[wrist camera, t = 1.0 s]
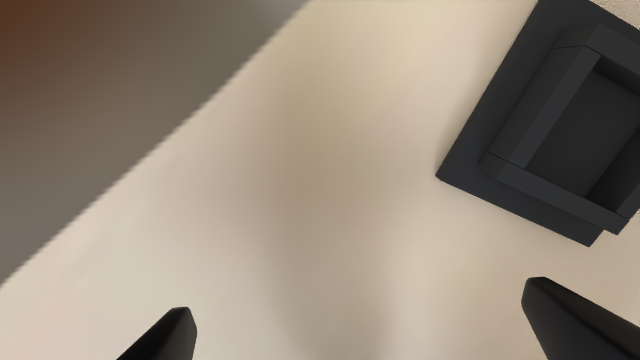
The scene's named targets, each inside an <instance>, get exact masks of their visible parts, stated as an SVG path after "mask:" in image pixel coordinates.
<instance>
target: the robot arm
mask: <svg viewBox="0 0 640 360" xmlns="http://www.w3.org/2000/svg"><path fill="white" fill-rule="evenodd" d="M521 304H522V308H523V311H524V313H525V315H526V317H527V319H528V321H529V323H530V325H531V327H532V329H533V331H534V333H535V335H536V337H537V339H538V341H539V343H540V345H541V347H542V349H543V351H544V353H545V355H546V357H547V359H548V360H640V327H638V326H636V325H634V324H632V323H630V322H629V321H627V320H625V319H623V318H621V317H619V316H617V315H616V314H614V313H612V312H610V311H608V310H606V309H604V308H603V307H601V306H599V305H597V304H595V303H593V302H591V301H590V300H588V299H586V298H584V297H582V296H580V295H578V294H577V293H575V292H573V291H571V290H569V289H567V288H565V287H564V286H562V285H560V284H558V283H556V282H554V281H552V280H551V279H549V278H546V277H532V278H528V279H527V280H526V283H525V287H524V291H523V295H522V299H521ZM196 338H197V327H196V324H195V322H194V319H193V316H192V313H191V311H190V309H189V308H188V307H177V308H172V309H171V310H169V311H168V312H167V313H166V314H165V315H164V316H163V317H162V318H161V319H160V320H159V321H157V322H156V323H155V324H154V325H153V326H152V327H151V328H150V329H149V330H148V331H147V332H146V333H144V334H143V335H142V336H141V337H140V338H139V339H138V340H137V341H136V342H135V343H134V344H133V345H132V346H130V347H129V348H128V349H127V350H126V351H125V352H124V353H123V354H122V355H121V356H120V357H119V358H117V359H116V360H192V358H193V353H194V348H195V343H196Z"/></svg>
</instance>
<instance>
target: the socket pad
mask: <svg viewBox="0 0 640 360" xmlns="http://www.w3.org/2000/svg"><path fill="white" fill-rule="evenodd" d="M435 176H436V177H437V178H438V179H440V180H441V181H443V182H445V183H448V184H450V185H452V186H454V187H457V188H459V189H461V190H463V191H465V192H468V193H470V194H472V195H474V196H477V197H479V198H481V199H483V200H485V201H488V202H490V203H492V204H494V205H496V206H499V207H501V208H503V209H505V210H508V211H510V212H512V213H514V214H516V215H519V216H521V217H523V218H525V219H527V220H530V221H532V222H534V223H536V224H539V225H541V226H543V227H545V228H547V229H550V230H552V231H554V232H556V233H559V234H561V235H563V236H565V237H567V238H570V239H572V240H574V241H576V242H578V243H581V244H583V245H585V246H587V247H590V246H591V245H592V244H593V242H594V241H595V240H596V239H597V237H598V236H599V235H600V234H601V233H602V231H603V230H607V231H609V232H611V233H613V234H615V235H618V234H619V233H620V231H621V230H622V229H623V228H624V227H625V225H626V224H627V223H628V222H629V219H631V218H632V217H633V215H634V214H635V213H636V212H637V211H638V209H639V208H640V30H638V29H637V28H635V27H633V26H632V25H630V24H628V23H627V22H625V21H623V20H622V19H620V18H618V17H617V16H615V15H613V14H611V13H610V12H608V11H606V10H605V9H603V8H601V7H600V6H598V5H596V4H595V3H593V2H591V1H590V0H539V2H538V3H537V5H536V7H535V8H534V10H533V12H532V14H531V15H530V17H529V19H528V20H527V22H526V24H525V25H524V27H523V29H522V30H521V32H520V34H519V35H518V37H517V39H516V40H515V42H514V44H513V45H512V47H511V49H510V51H509V52H508V54H507V56H506V57H505V59H504V61H503V62H502V64H501V66H500V67H499V69H498V71H497V72H496V74H495V76H494V77H493V79H492V81H491V82H490V84H489V86H488V88H487V89H486V91H485V93H484V94H483V96H482V98H481V99H480V101H479V103H478V104H477V106H476V108H475V109H474V111H473V113H472V114H471V116H470V118H469V119H468V121H467V123H466V124H465V126H464V128H463V130H462V131H461V133H460V135H459V136H458V138H457V140H456V141H455V143H454V145H453V146H452V148H451V150H450V151H449V153H448V155H447V156H446V158H445V160H444V161H443V163H442V165H441V167H440V168H439V170H438V172H437V173H436V175H435Z"/></svg>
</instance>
